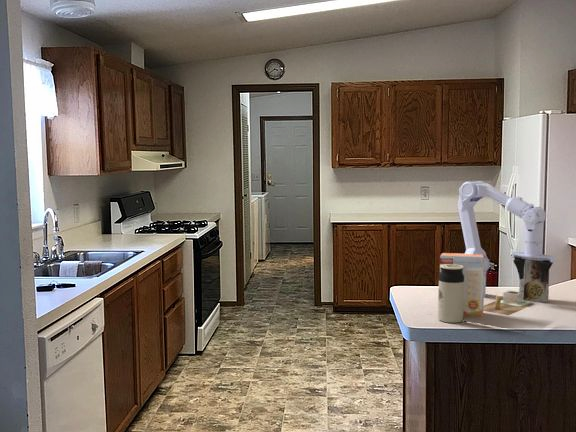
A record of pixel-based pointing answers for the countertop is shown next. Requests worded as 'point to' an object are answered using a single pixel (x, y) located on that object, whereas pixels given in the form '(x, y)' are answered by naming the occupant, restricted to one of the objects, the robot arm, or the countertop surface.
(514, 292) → the white square frame
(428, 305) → the countertop surface
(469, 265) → the cracker box
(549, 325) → the countertop surface
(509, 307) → the board
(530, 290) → the coffee box
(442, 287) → the travel mug
